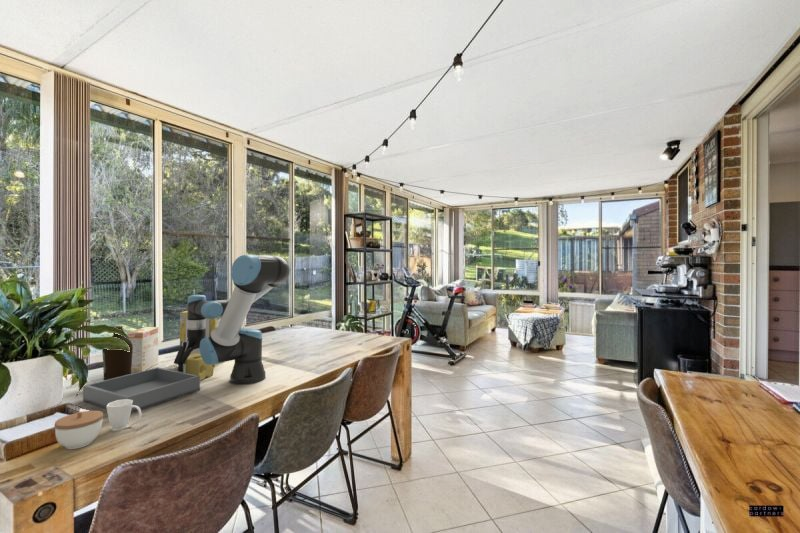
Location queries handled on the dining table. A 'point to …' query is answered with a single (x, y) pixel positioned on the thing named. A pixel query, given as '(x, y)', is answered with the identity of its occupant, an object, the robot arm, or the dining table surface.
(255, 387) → the dining table surface
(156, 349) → the coffeecake box
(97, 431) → the lidded jar
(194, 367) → the cheese
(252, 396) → the dining table surface
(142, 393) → the tray
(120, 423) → the cup
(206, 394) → the dining table surface
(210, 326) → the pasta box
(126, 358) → the olive oil
